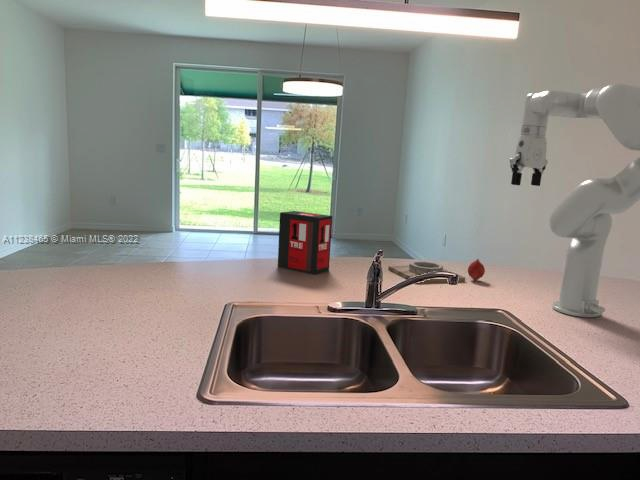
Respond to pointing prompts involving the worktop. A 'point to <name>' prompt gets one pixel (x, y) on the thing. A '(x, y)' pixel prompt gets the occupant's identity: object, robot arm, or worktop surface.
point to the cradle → (420, 271)
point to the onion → (476, 270)
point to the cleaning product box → (304, 242)
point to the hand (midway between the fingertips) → (525, 185)
